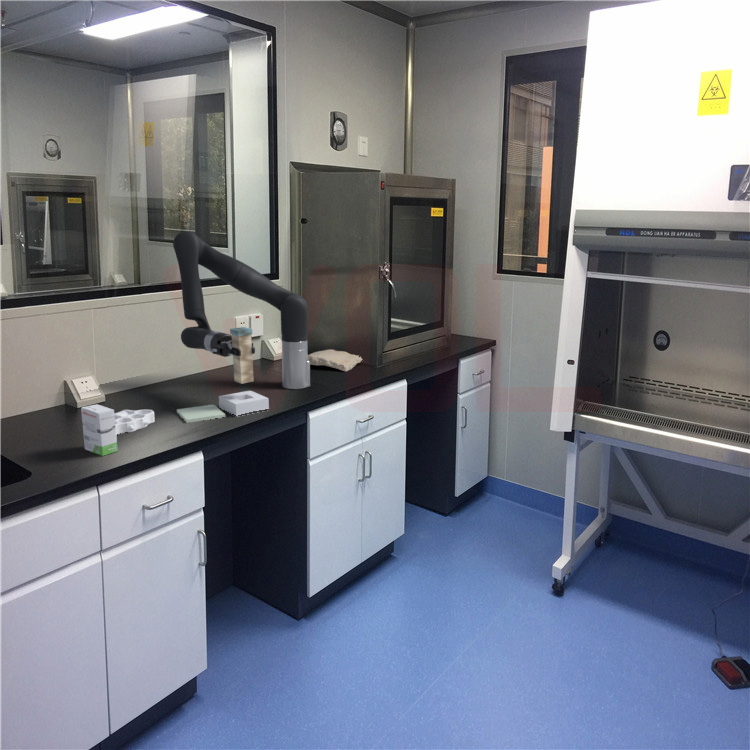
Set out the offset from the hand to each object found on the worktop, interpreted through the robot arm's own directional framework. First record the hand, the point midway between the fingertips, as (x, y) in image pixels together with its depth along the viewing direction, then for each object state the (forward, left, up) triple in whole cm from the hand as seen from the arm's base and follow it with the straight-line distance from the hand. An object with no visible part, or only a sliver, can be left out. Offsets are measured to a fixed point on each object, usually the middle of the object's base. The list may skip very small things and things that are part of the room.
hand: (246, 351), depth 210 cm
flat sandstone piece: (-50, -46, -20) cm, 71 cm away
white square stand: (+1, -3, -19) cm, 20 cm away
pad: (+15, -3, -19) cm, 24 cm away
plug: (0, -3, -10) cm, 10 cm away
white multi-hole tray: (+38, -2, -20) cm, 43 cm away
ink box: (+47, +16, -20) cm, 53 cm away
